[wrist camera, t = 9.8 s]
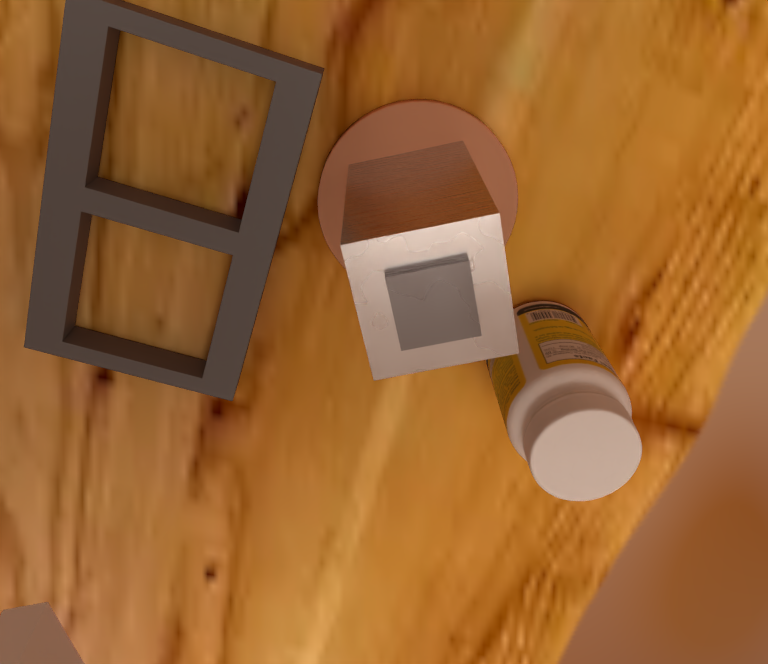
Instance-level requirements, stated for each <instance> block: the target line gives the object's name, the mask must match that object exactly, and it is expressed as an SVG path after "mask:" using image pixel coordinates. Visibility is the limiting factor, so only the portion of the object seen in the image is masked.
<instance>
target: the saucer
mask: <svg viewBox="0 0 768 664" xmlns="http://www.w3.org/2000/svg"><path fill="white" fill-rule="evenodd" d="M458 141H463V142H464V144H465V146H466V148H467V150H468V151H469V153H470V155H471V157H472V159H473V161H474V163H475V165H476V167H477V169H478V171H479V173H480V175H481V177H482V179H483V181H484V183H485V185H486V187H487V189H488V191H489V193H490V195H491V197H492V199H493V201H494V203H495V205H496V207H497V209H498V211H499V213H500V219H501V227H502V234H503V241H504V247H505V245H506V243H507V241H508V239H509V237H510V235H511V232H512V229H513V226H514V223H515V218H516V214H517V206H518V189H517V181H516V177H515V172H514V169H513V166H512V163H511V161H510V159H509V157H508V155H507V153H506V151H505V149H504V148H503V146H502V145H501V143H500V142H499V140H498V139H497V138H496V136H495V135H494V133H493V132H492V131H491V130H490V129H489V128H488V127H487V126H486V125H485V124H484V123H483V122H481V121H480V120H479V119H478V118H476V117H475V116H474V115H472V114H470V113H469V112H467V111H465V110H463V109H461V108H459V107H456V106H454V105H452V104H448V103H444V102H441V101H436V100H427V99H410V100H403V101H397V102H394V103H390V104H387V105H384V106H381V107H379V108H377V109H375V110H372V111H371V112H369V113H367V114H366V115H364V116H363V117H361V118H360V119H358V120H357V121H356V122H355V123H353V124H352V125H351V126H350V127H349V128H348V129H347V130H346V131H345V132H344V133H343V134H342V135H341V137H340V138H339V139H338V141H337V142H336V144H335V145H334V146H333V148H332V150H331V152H330V154H329V156H328V158H327V160H326V163H325V165H324V168H323V171H322V176H321V180H320V185H319V191H318V215H319V220H320V225H321V229H322V232H323V235H324V238H325V240H326V242H327V244H328V246H329V248H330V250H331V251H332V253H333V254H334V256H335V257H336V259H337V260H338V261H339V262H340V263H341V265H342V266H343V267H344V268H345V269H346V266H345V262H344V258H343V254H342V250H341V246H340V243H341V233H342V224H343V214H344V204H345V195H346V185H347V176H348V166H349V164H354V163H358V162H363V161H368V160H373V159H377V158H382V157H387V156H392V155H396V154H401V153H406V152H410V151H415V150H420V149H425V148H429V147H434V146H439V145H444V144H448V143H453V142H458Z"/></svg>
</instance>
